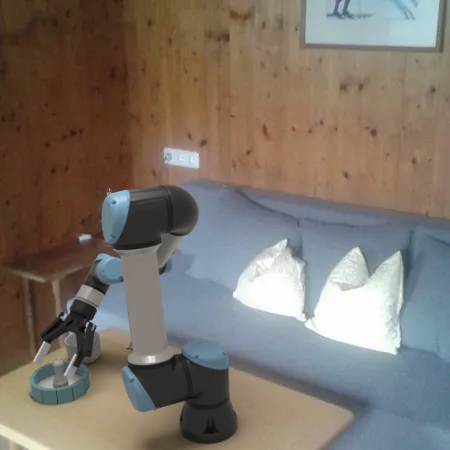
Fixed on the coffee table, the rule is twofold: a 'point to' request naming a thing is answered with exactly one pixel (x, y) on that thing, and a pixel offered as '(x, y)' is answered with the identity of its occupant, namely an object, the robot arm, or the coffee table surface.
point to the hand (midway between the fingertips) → (51, 370)
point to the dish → (49, 395)
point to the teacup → (72, 347)
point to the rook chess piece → (59, 374)
